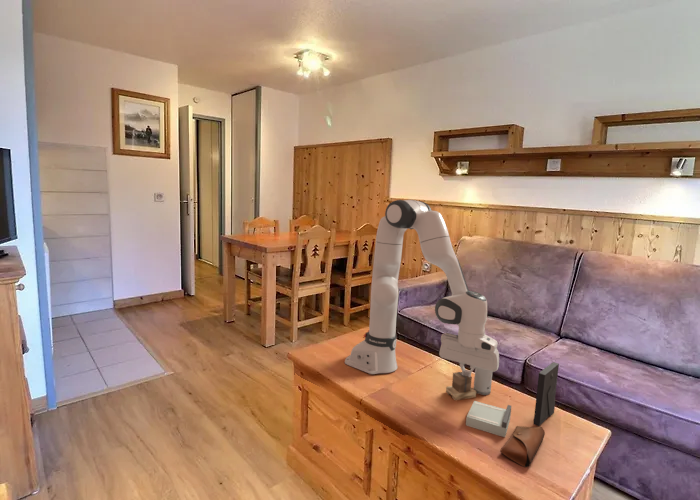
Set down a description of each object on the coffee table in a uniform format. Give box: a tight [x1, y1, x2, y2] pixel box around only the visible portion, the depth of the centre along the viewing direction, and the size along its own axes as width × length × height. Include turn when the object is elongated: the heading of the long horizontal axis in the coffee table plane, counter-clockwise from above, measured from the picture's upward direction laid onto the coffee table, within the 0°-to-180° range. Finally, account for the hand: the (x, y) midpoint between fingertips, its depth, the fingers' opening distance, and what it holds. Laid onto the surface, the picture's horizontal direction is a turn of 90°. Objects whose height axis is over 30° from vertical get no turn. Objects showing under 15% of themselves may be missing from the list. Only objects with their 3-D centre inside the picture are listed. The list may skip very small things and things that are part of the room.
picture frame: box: [533, 362, 560, 427], centre depth 132 cm, size 13×2×18 cm, turn 135°
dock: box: [465, 400, 512, 438], centre depth 129 cm, size 12×12×5 cm
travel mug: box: [473, 367, 494, 396], centre depth 149 cm, size 6×7×20 cm
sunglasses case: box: [499, 425, 546, 468], centre depth 116 cm, size 18×7×7 cm
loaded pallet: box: [445, 371, 477, 401], centre depth 147 cm, size 9×6×8 cm, turn 109°
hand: (466, 375), depth 139 cm, fingers closed
